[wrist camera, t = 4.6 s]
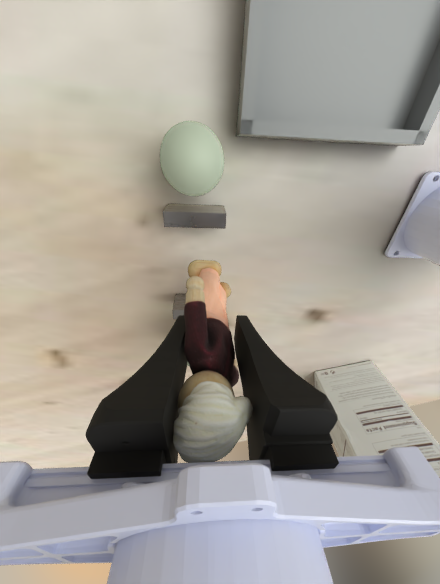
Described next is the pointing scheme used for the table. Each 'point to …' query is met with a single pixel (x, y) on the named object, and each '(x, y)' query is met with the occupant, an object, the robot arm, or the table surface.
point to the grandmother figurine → (208, 372)
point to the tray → (340, 70)
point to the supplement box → (372, 414)
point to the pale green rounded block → (191, 158)
